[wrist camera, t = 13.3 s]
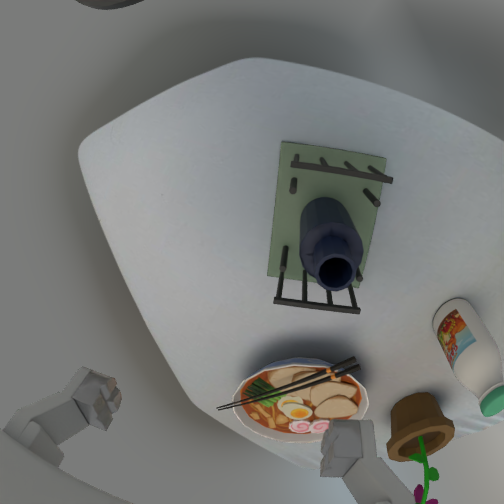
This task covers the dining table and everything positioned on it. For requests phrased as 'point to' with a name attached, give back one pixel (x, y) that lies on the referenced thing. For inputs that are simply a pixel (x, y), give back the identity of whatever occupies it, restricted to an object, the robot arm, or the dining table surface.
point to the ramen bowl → (299, 398)
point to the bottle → (329, 244)
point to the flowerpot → (419, 436)
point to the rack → (312, 187)
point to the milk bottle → (471, 353)
